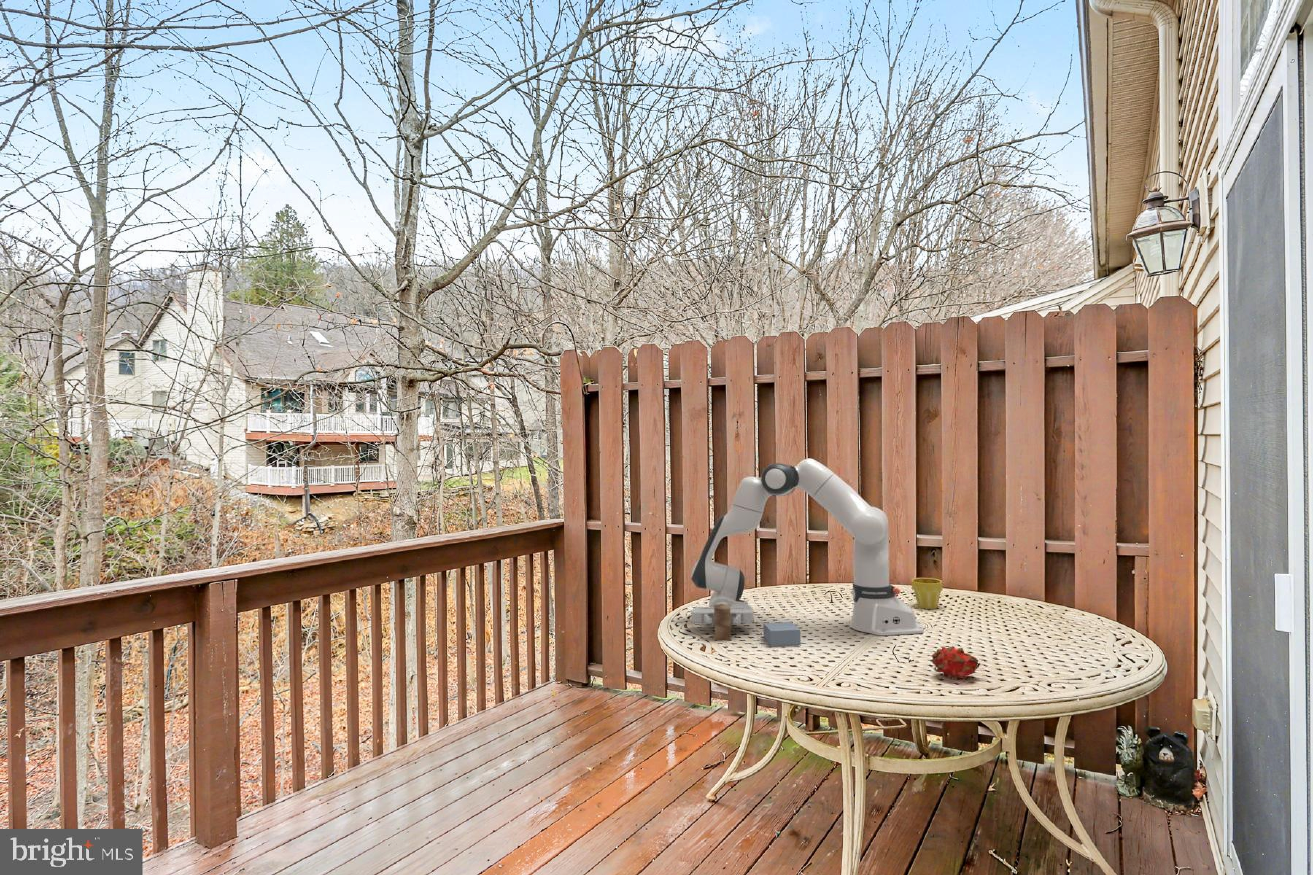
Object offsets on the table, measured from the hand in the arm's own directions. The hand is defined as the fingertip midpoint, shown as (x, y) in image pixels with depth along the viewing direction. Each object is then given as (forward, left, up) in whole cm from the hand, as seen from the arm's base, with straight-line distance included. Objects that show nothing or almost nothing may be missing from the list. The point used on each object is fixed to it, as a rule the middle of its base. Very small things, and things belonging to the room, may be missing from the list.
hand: (722, 621), depth 201 cm
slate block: (-18, +3, -6) cm, 19 cm away
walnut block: (0, -1, -6) cm, 6 cm away
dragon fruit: (-59, +32, -6) cm, 67 cm away
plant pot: (-75, -40, -6) cm, 85 cm away
